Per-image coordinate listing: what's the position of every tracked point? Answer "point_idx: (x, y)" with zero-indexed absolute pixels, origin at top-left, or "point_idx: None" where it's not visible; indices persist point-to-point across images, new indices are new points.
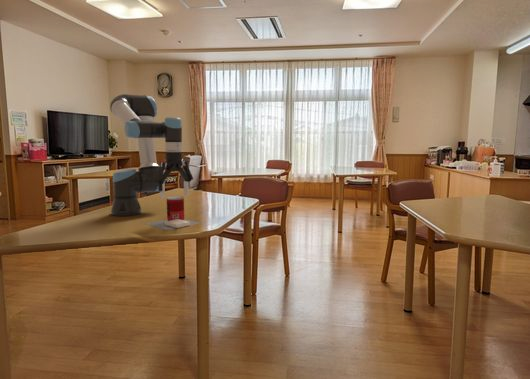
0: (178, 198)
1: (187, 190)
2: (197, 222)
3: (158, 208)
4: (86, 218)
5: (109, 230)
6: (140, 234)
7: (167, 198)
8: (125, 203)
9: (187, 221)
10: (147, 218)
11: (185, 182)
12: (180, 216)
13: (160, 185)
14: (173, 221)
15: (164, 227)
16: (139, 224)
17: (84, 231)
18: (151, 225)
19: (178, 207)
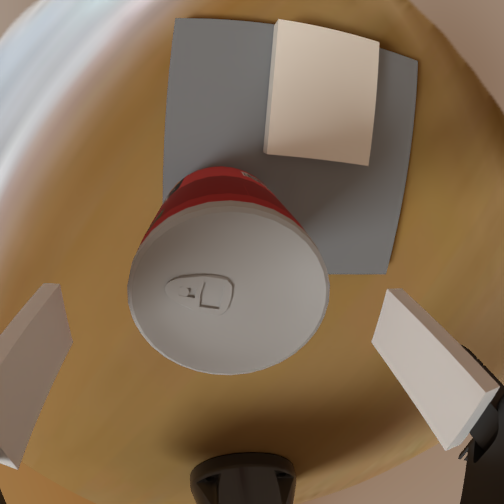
0: (261, 210)
1: (33, 316)
2: (179, 48)
3: (110, 468)
4: (357, 468)
5: (464, 308)
6: (473, 161)
7: (323, 315)
8: (275, 496)
9: (282, 38)
10: (249, 393)
11: (3, 431)
12: (227, 169)
13: (500, 386)
14: (338, 118)
15: (394, 121)
16: (359, 321)
17: (482, 343)
18: (397, 217)
19: (251, 185)
